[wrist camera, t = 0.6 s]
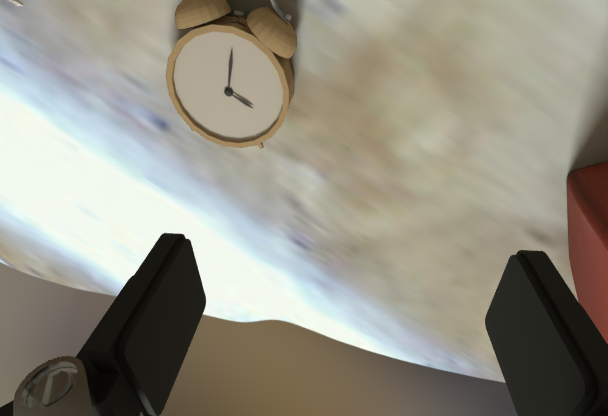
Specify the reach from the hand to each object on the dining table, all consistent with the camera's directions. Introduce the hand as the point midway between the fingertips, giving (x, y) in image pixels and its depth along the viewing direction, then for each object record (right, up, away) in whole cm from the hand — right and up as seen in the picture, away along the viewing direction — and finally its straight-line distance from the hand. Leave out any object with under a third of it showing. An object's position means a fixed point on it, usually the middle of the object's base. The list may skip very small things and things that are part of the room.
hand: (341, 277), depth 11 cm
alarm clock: (-7, +16, +23) cm, 29 cm away
